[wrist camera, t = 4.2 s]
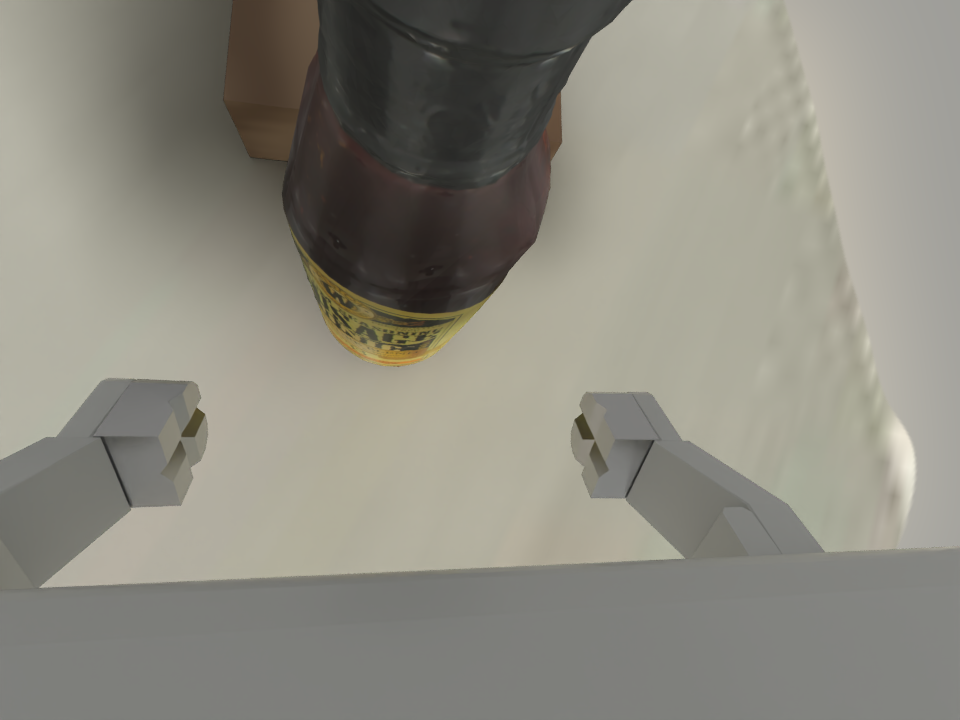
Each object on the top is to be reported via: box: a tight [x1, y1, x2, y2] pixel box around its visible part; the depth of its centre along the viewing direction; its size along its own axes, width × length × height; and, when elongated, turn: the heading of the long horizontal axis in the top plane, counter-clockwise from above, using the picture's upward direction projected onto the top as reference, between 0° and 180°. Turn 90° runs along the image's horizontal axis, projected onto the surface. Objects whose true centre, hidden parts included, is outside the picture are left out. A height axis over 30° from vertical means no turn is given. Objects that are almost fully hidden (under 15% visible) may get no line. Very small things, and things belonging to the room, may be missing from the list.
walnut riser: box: [223, 0, 562, 162], centre depth 23 cm, size 14×14×4 cm
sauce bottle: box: [282, 0, 632, 367], centre depth 14 cm, size 6×6×20 cm
